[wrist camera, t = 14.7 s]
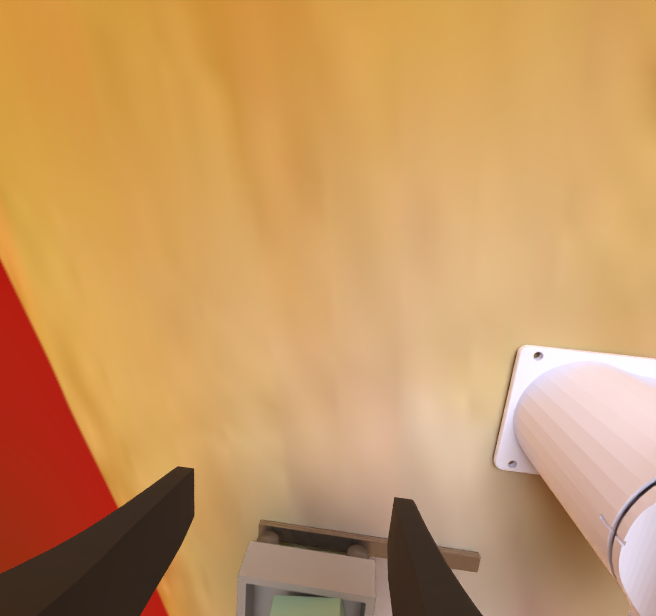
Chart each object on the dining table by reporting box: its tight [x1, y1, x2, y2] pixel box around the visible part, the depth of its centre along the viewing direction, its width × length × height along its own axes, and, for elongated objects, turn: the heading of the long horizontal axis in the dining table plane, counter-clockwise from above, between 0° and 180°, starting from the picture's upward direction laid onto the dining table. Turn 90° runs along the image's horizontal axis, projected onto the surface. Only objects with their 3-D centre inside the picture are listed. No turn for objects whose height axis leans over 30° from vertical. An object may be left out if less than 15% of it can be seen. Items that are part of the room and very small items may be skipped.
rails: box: [259, 520, 480, 572], centre depth 25 cm, size 15×10×1 cm
